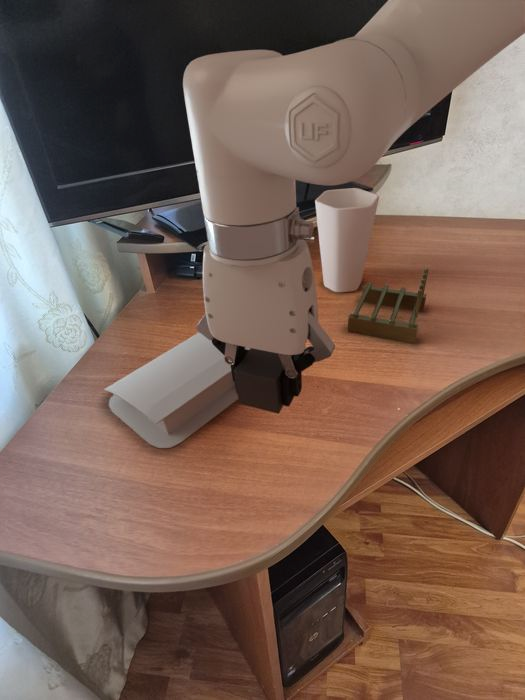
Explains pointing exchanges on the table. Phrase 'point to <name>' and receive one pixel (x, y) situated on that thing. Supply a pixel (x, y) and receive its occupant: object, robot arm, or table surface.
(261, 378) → the box
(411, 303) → the rack
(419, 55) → the robot arm
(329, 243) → the cup
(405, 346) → the table surface
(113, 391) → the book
